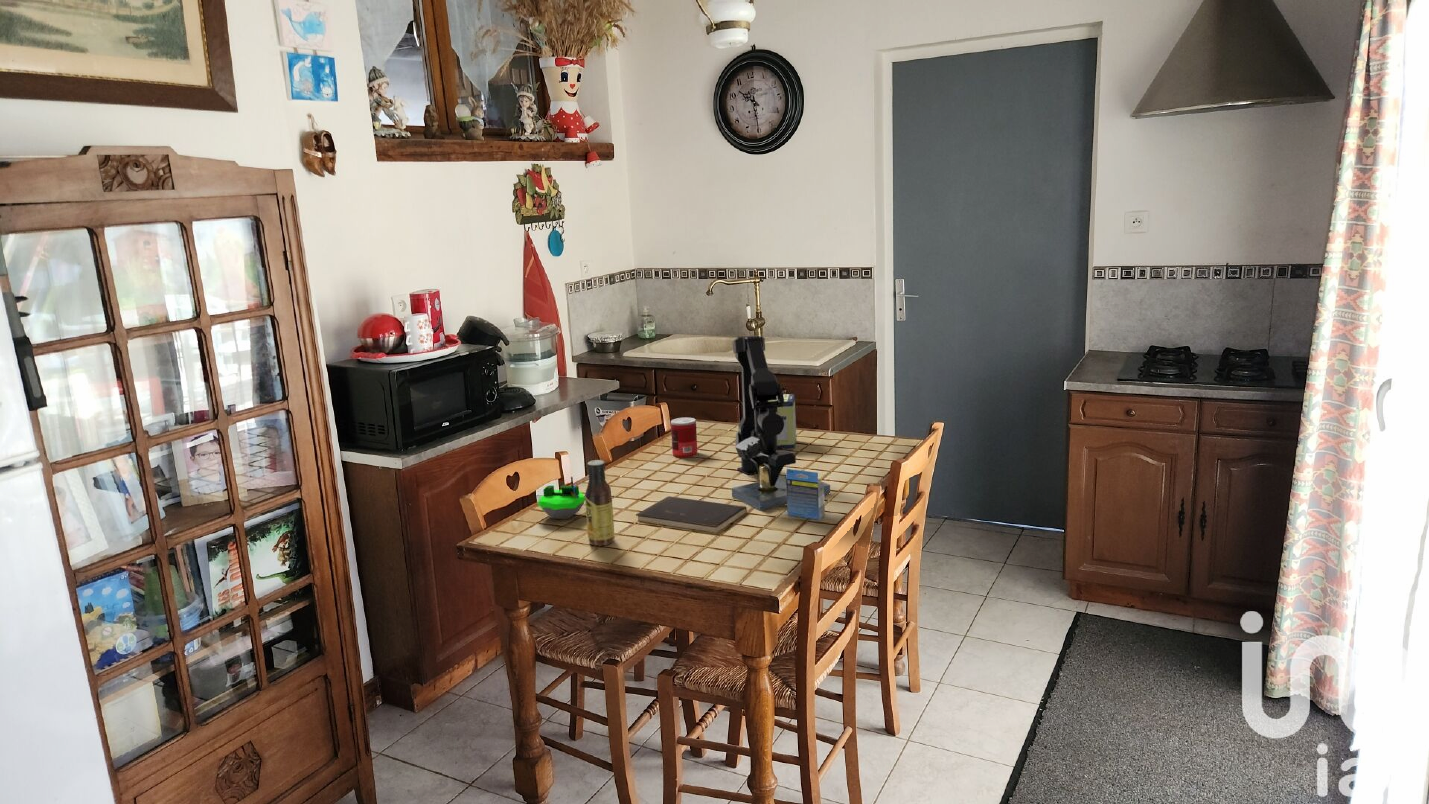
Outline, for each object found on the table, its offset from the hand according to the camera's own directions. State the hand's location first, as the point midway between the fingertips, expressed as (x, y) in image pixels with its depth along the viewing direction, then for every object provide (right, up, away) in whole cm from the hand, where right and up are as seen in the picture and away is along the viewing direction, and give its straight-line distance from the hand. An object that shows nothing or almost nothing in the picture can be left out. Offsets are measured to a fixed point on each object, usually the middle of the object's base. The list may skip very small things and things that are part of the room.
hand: (767, 483), depth 248 cm
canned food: (-23, +5, +46) cm, 52 cm away
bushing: (0, -3, +1) cm, 3 cm away
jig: (+4, -3, +3) cm, 6 cm away
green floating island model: (-53, -8, -6) cm, 54 cm away
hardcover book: (-20, -8, -10) cm, 24 cm away
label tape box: (+9, -7, -14) cm, 18 cm away
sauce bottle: (-41, -12, -25) cm, 49 cm away
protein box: (+4, +8, +53) cm, 53 cm away
